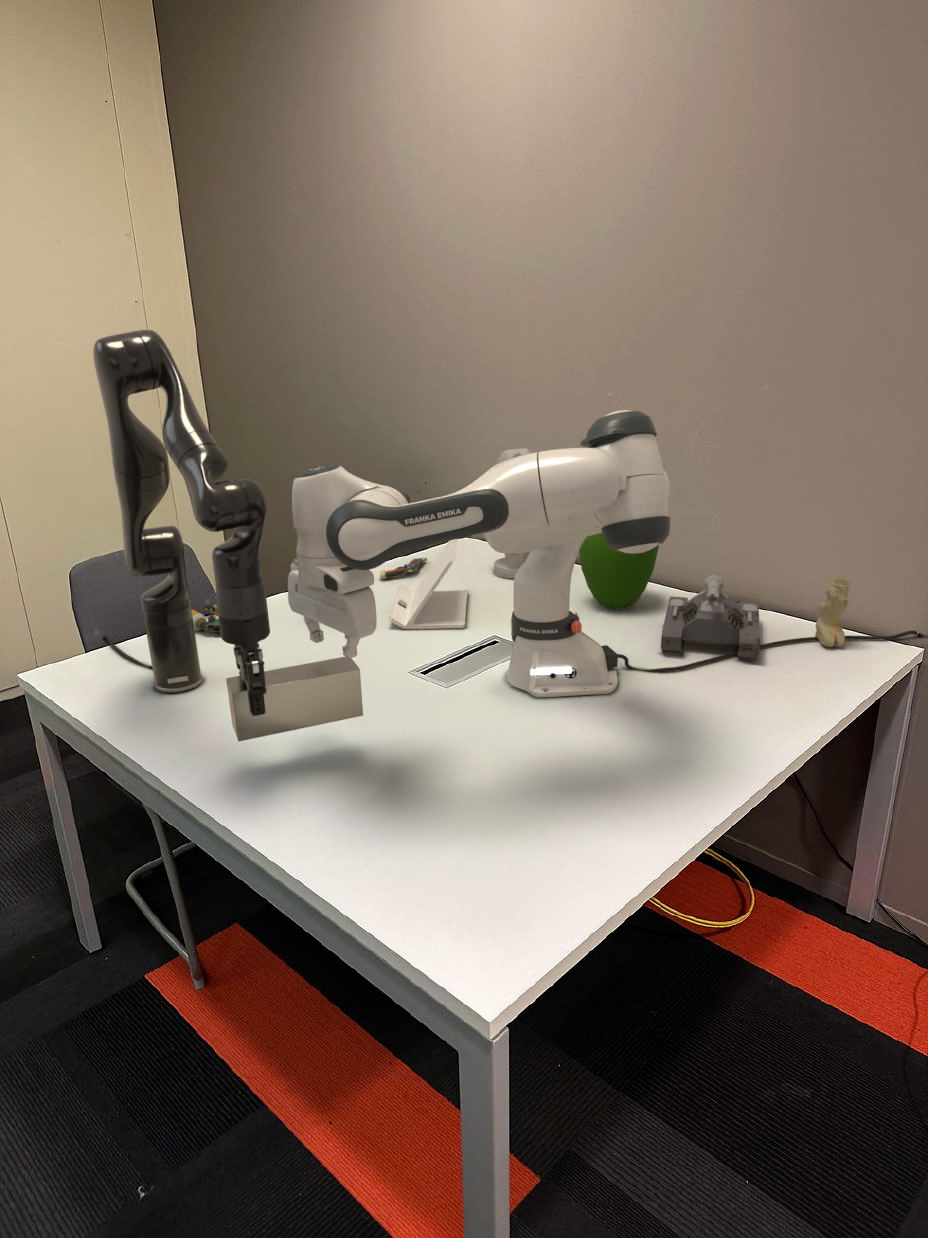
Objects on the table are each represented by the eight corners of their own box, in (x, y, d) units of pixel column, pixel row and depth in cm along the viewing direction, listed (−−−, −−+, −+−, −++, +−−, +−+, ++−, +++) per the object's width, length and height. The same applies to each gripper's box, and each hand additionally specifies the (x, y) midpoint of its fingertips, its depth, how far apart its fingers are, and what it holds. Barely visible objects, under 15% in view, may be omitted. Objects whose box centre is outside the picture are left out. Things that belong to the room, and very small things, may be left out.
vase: (599, 587, 227) (601, 497, 218) (668, 600, 216) (673, 505, 208) (562, 608, 212) (564, 513, 204) (634, 623, 202) (639, 523, 193)
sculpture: (821, 649, 184) (830, 583, 179) (808, 637, 191) (816, 573, 185) (848, 649, 184) (858, 582, 179) (834, 636, 191) (843, 572, 185)
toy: (668, 615, 206) (672, 556, 200) (756, 622, 200) (762, 561, 195) (660, 656, 183) (663, 590, 178) (758, 664, 177) (765, 596, 172)
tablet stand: (467, 593, 225) (465, 531, 219) (465, 628, 202) (462, 559, 196) (399, 594, 226) (395, 532, 220) (388, 629, 203) (384, 560, 197)
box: (353, 700, 149) (349, 655, 146) (363, 715, 143) (360, 668, 140) (232, 725, 141) (225, 678, 138) (238, 741, 136) (231, 693, 133)
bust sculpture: (503, 593, 225) (502, 460, 212) (483, 567, 247) (480, 445, 234) (562, 587, 228) (563, 456, 215) (536, 562, 250) (536, 441, 237)
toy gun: (377, 572, 237) (412, 568, 235) (395, 557, 255) (427, 554, 253) (379, 581, 238) (413, 578, 236) (396, 566, 256) (428, 563, 254)
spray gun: (217, 611, 220) (264, 620, 214) (170, 629, 206) (220, 640, 200) (216, 595, 219) (263, 604, 213) (169, 612, 204) (219, 622, 198)
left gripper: (211, 598, 137) (224, 692, 143) (224, 627, 125) (238, 729, 131) (258, 591, 140) (269, 684, 146) (276, 619, 128) (287, 719, 133)
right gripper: (274, 559, 141) (283, 637, 145) (347, 586, 126) (354, 671, 131) (306, 551, 145) (314, 627, 149) (380, 576, 130) (386, 659, 135)
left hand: (254, 705), depth 138 cm, fingers closed on box, 6 cm apart
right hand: (333, 648), depth 140 cm, fingers open, 8 cm apart
